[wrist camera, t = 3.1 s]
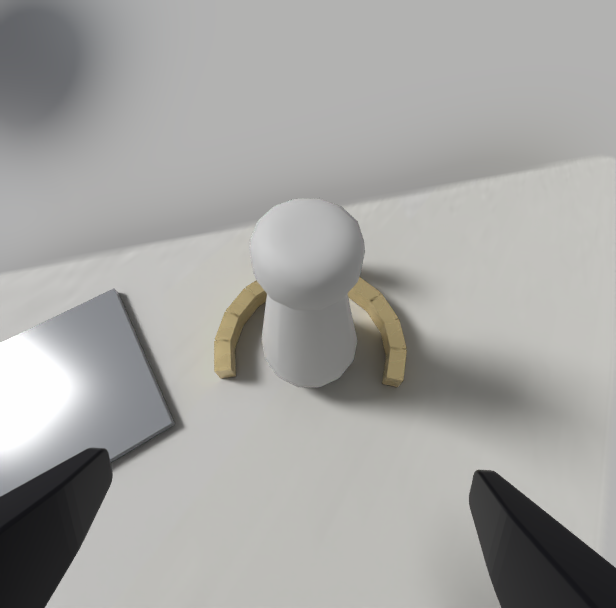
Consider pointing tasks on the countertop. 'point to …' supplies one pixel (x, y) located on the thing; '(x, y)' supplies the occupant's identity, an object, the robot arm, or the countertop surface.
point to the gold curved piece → (359, 294)
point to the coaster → (75, 391)
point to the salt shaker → (308, 288)
